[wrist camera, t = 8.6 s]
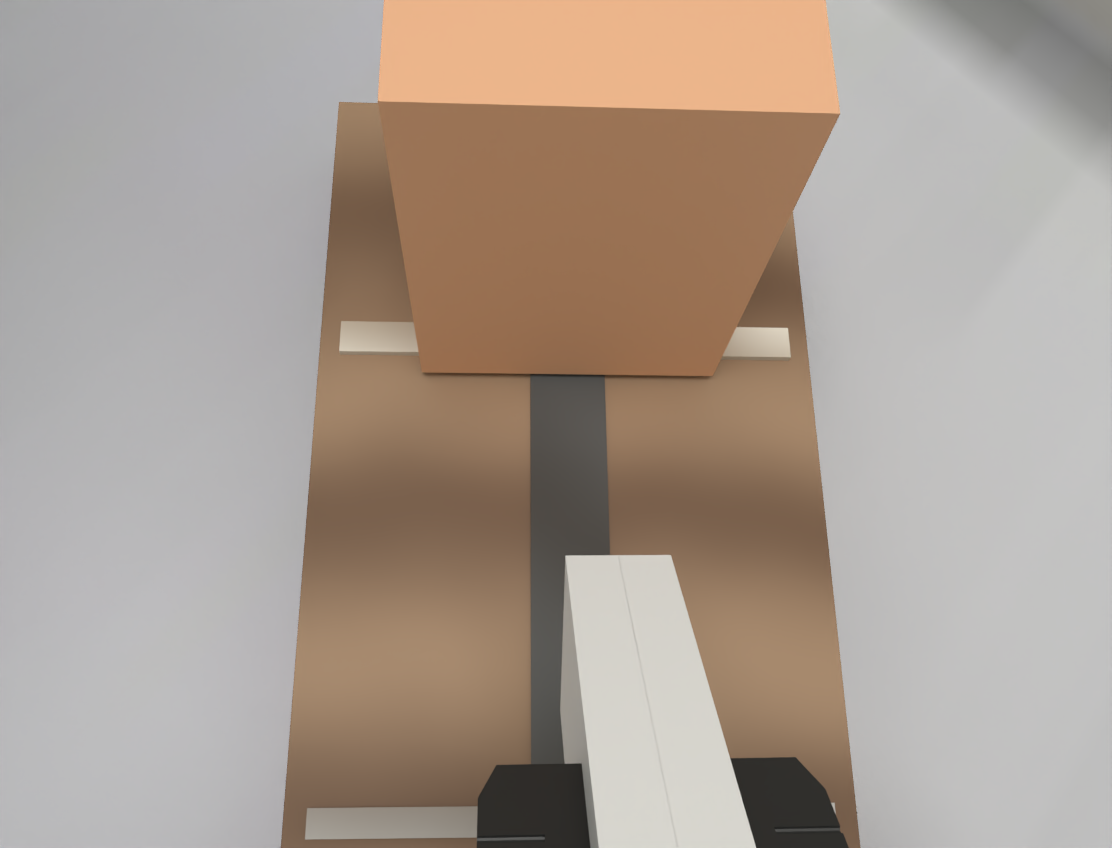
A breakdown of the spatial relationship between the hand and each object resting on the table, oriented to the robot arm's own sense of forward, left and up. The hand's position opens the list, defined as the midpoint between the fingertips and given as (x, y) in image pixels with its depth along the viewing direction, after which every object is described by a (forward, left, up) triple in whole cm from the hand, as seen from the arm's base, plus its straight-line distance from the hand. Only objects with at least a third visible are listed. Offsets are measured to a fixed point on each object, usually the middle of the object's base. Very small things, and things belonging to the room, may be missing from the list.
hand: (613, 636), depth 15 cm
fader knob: (-9, +3, -8) cm, 12 cm away
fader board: (-3, +1, -11) cm, 11 cm away
